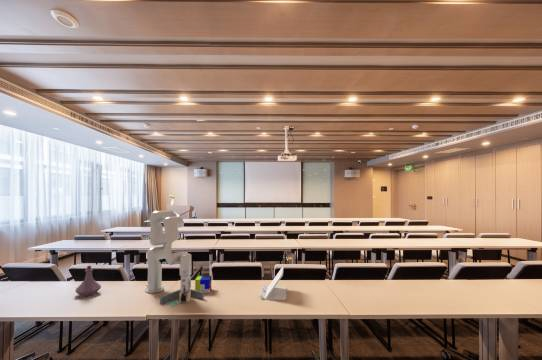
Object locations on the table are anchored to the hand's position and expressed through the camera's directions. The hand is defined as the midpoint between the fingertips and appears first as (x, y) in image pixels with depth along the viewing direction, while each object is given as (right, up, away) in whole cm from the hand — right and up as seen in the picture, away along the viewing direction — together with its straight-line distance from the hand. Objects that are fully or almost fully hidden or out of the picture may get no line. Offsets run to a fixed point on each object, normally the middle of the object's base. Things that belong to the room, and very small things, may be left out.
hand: (185, 298), depth 188 cm
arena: (-2, -2, -1) cm, 3 cm away
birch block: (0, -1, 0) cm, 1 cm away
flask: (-73, -3, +14) cm, 75 cm away
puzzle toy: (+7, -3, +20) cm, 22 cm away
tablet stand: (+59, -3, +16) cm, 61 cm away
